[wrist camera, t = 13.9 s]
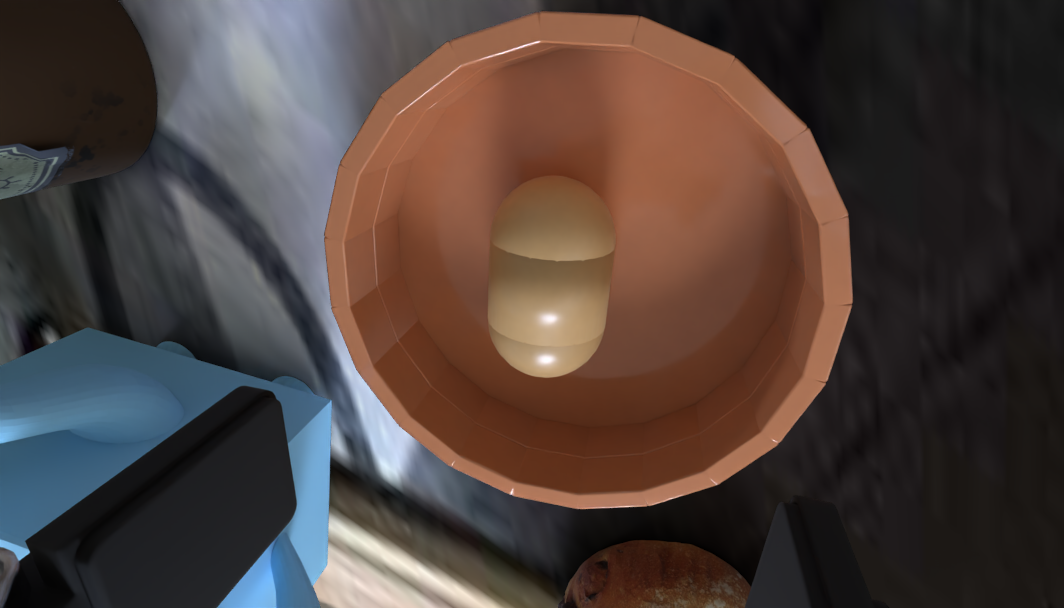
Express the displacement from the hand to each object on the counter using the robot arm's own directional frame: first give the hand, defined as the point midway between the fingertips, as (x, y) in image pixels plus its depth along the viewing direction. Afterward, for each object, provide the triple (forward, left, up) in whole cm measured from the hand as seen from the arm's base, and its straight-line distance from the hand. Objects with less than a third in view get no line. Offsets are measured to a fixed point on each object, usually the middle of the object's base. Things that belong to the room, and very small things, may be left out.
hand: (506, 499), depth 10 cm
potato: (+1, 0, -14) cm, 13 cm away
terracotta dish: (0, 0, -14) cm, 14 cm away
